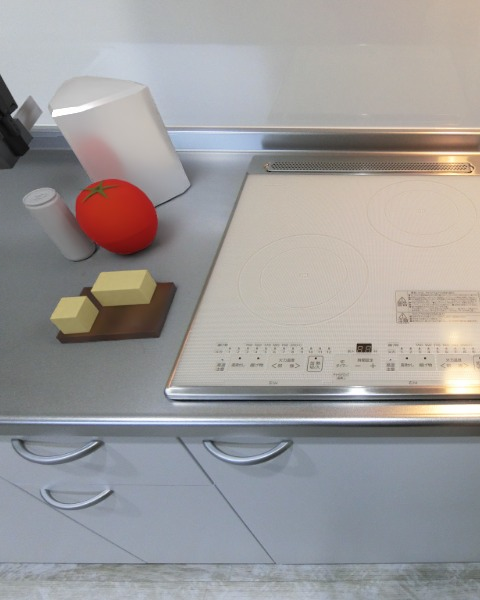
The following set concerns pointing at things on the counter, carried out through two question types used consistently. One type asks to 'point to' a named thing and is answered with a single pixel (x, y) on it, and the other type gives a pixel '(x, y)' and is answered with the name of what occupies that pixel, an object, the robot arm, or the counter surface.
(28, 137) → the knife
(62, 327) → the butter slice
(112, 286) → the butter block
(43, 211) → the beverage can
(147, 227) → the tomato
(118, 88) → the white plastic container
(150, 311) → the board
